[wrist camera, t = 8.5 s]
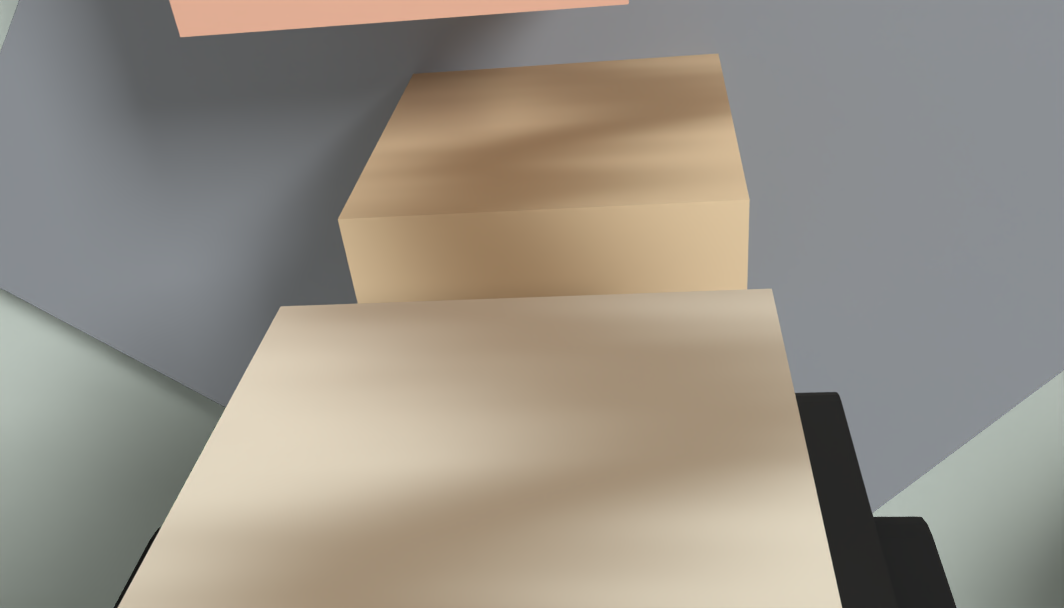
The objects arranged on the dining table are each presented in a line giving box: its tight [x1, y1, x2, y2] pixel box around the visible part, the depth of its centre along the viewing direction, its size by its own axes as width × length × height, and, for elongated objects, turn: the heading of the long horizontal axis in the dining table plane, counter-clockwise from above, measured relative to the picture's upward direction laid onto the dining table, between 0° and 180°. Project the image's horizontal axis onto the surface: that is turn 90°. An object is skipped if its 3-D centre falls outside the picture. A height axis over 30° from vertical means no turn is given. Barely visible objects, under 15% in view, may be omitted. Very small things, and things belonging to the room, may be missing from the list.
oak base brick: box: [338, 54, 750, 304], centre depth 15 cm, size 5×5×5 cm
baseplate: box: [0, 0, 1064, 513], centre depth 18 cm, size 19×17×1 cm
